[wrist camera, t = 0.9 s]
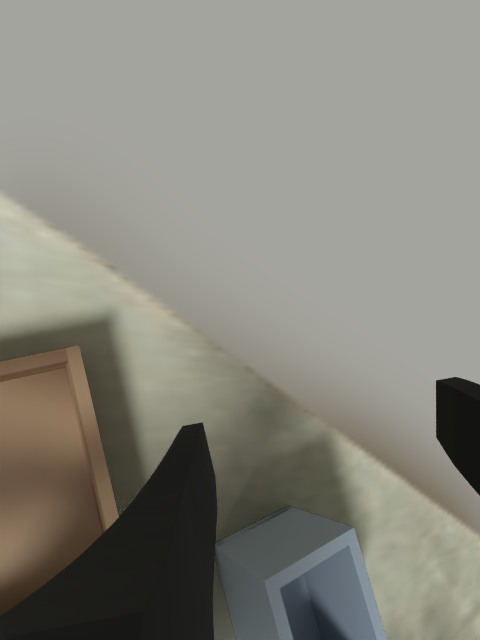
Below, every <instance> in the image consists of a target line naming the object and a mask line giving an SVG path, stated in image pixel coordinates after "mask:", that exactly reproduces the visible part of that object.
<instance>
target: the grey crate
mask: <svg viewBox="0 0 480 640" xmlns="http://www.w3.org/2000/svg"><path fill="white" fill-rule="evenodd" d="M215 559H216V562H217V566H218V570H219V574H220V578H221V582H222V586H223V590H224V594H225V598H226V601H227V605H228V609H229V613H230V617H231V621H232V625H233V629H234V633H235V637H236V640H387V636H386V633H385V630H384V626H383V623H382V620H381V616H380V613H379V609H378V606H377V603H376V599H375V596H374V593H373V589H372V586H371V583H370V579H369V576H368V572H367V569H366V566H365V562H364V559H363V556H362V552H361V549H360V545H359V542H358V539H357V535H356V532H355V529H354V527H352V526H349V525H346V524H343V523H340V522H337V521H334V520H331V519H327V518H324V517H321V516H318V515H315V514H312V513H309V512H306V511H303V510H300V509H297V508H294V507H291V506H287V507H285V508H283V509H281V510H279V511H277V512H275V513H273V514H271V515H269V516H267V517H266V518H264V519H262V520H260V521H258V522H256V523H254V524H252V525H250V526H248V527H246V528H244V529H242V530H240V531H238V532H236V533H234V534H232V535H230V536H228V537H226V538H224V539H222V540H220V541H218V542H217V543H215Z"/></svg>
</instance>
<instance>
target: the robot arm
mask: <svg viewBox="0 0 480 640" xmlns="http://www.w3.org/2000/svg"><path fill="white" fill-rule="evenodd" d="M436 437H437V439H438V440H439V442H440V444H441V445H442V447H443V449H444V450H445V452H446V454H447V455H448V456H449V458H450V459H451V461H452V463H453V464H454V465H455V467H456V468H457V469H458V470H459V472H460V473H461V474H462V475H463V476H464V478H465V479H466V480H467V481H468V482H469V484H470V485H471V486H472V487H473V488H474V489H475V491H476V492H477V493H478V494H479V495H480V385H479V384H476V383H474V382H471V381H468V380H465V379H461V378H457V377H453V378H448V379H443V380H437V381H436ZM216 521H217V497H216V481H215V474H214V469H213V465H212V461H211V456H210V452H209V448H208V443H207V439H206V435H205V430H204V426H203V423H197V424H192V425H186V426H183V427H182V428H181V429H180V431H179V433H178V434H177V436H176V438H175V440H174V441H173V443H172V445H171V446H170V448H169V450H168V451H167V453H166V455H165V456H164V458H163V459H162V461H161V462H160V464H159V465H158V467H157V469H156V470H155V472H154V473H153V475H152V476H151V477H150V479H149V480H148V481H147V483H146V484H145V486H144V487H143V488H142V490H141V491H140V492H139V494H138V495H137V496H136V498H135V499H134V500H133V501H132V503H131V504H130V505H129V506H128V507H127V509H126V510H125V511H124V512H123V513H122V514H121V515H120V516H119V518H118V519H117V520H116V521H115V522H114V523H113V524H112V525H111V526H110V527H109V528H108V529H107V530H106V531H105V532H104V533H103V534H102V535H101V536H100V537H99V538H98V539H97V540H96V541H95V542H94V543H93V544H92V545H91V546H89V547H88V548H87V549H86V550H85V551H84V552H83V553H82V554H81V555H80V556H78V557H77V558H76V559H75V560H74V561H73V562H72V563H70V564H69V565H68V566H67V567H66V568H64V569H63V570H62V571H61V572H59V573H58V574H57V575H56V576H55V577H53V578H52V579H51V580H49V581H48V582H47V583H46V584H44V585H43V586H42V587H40V588H39V589H38V590H36V591H35V592H33V593H32V594H31V595H29V596H28V597H27V598H25V599H24V600H22V601H21V602H20V603H18V604H17V605H15V606H14V607H13V608H11V609H10V610H9V611H7V612H6V613H4V614H3V615H1V616H0V640H214V631H213V573H214V556H215V539H216Z"/></svg>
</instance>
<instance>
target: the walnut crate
mask: <svg viewBox="0 0 480 640" xmlns="http://www.w3.org/2000/svg"><path fill="white" fill-rule="evenodd" d="M118 518H119V515H118V511H117V507H116V502H115V498H114V494H113V489H112V485H111V481H110V476H109V472H108V468H107V463H106V459H105V455H104V450H103V446H102V442H101V437H100V433H99V429H98V424H97V420H96V416H95V411H94V407H93V403H92V399H91V394H90V390H89V386H88V381H87V377H86V373H85V368H84V364H83V360H82V355H81V351H80V347H79V345H78V346H73V347H68V348H64V349H59V350H54V351H49V352H44V353H39V354H34V355H29V356H24V357H19V358H14V359H10V360H5V361H0V616H1V615H3V614H4V613H6V612H7V611H9V610H10V609H11V608H13V607H14V606H15V605H17V604H18V603H20V602H21V601H22V600H24V599H25V598H27V597H28V596H29V595H31V594H32V593H33V592H35V591H36V590H38V589H39V588H40V587H42V586H43V585H44V584H46V583H47V582H48V581H49V580H51V579H52V578H53V577H55V576H56V575H57V574H58V573H59V572H61V571H62V570H63V569H64V568H66V567H67V566H68V565H69V564H70V563H72V562H73V561H74V560H75V559H76V558H77V557H78V556H80V555H81V554H82V553H83V552H84V551H85V550H86V549H87V548H88V547H89V546H91V545H92V544H93V543H94V542H95V541H96V540H97V539H98V538H99V537H100V536H101V535H102V534H103V533H104V532H105V531H106V530H107V529H108V528H109V527H110V526H111V525H112V524H113V523H114V522H115V521H116V520H117V519H118Z"/></svg>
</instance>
